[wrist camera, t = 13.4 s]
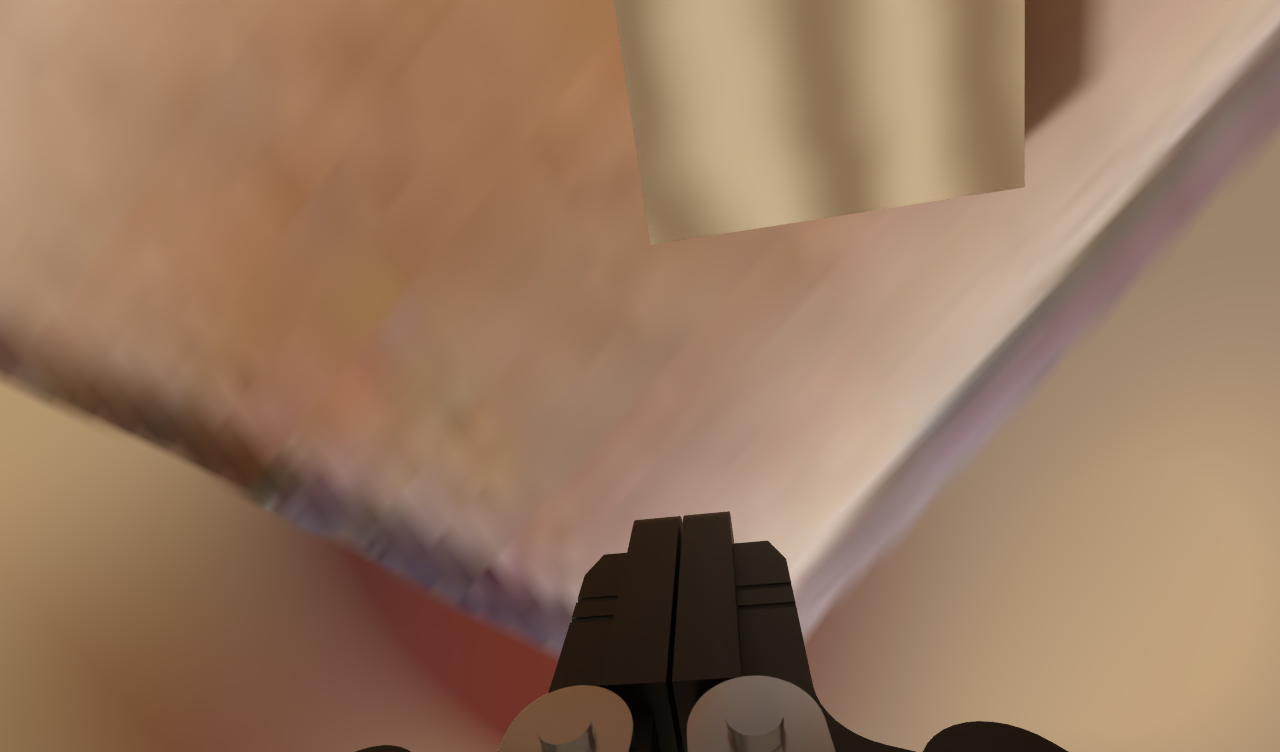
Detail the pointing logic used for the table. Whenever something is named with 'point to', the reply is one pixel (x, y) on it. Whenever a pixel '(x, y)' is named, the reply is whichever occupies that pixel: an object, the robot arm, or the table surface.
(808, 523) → the table surface
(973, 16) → the beige box sleeve
